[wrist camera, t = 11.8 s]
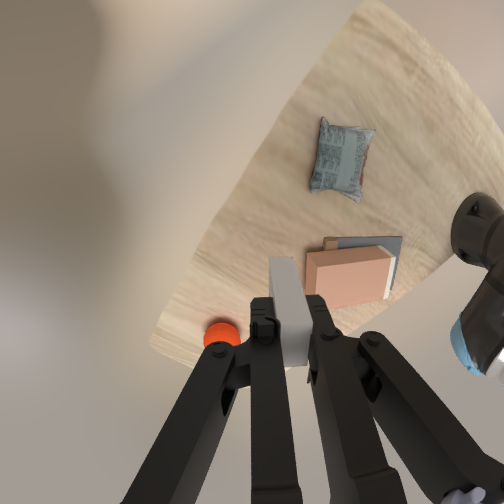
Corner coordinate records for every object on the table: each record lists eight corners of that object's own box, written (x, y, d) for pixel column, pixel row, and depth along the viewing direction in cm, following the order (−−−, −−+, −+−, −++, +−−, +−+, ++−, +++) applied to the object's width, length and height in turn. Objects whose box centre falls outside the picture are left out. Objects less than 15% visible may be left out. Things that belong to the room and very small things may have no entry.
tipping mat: (401, 236, 45) (405, 239, 44) (390, 288, 49) (393, 292, 48) (324, 237, 45) (326, 241, 44) (319, 294, 50) (320, 298, 48)
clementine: (241, 346, 55) (240, 371, 48) (207, 345, 55) (203, 370, 48) (241, 315, 51) (240, 341, 45) (204, 314, 51) (199, 339, 45)
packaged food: (369, 130, 38) (382, 130, 33) (355, 200, 43) (366, 208, 38) (317, 116, 37) (325, 114, 33) (304, 190, 42) (310, 198, 38)
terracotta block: (306, 252, 44) (380, 245, 45) (304, 295, 47) (374, 284, 48) (317, 267, 39) (396, 257, 41) (313, 312, 43) (387, 298, 44)
